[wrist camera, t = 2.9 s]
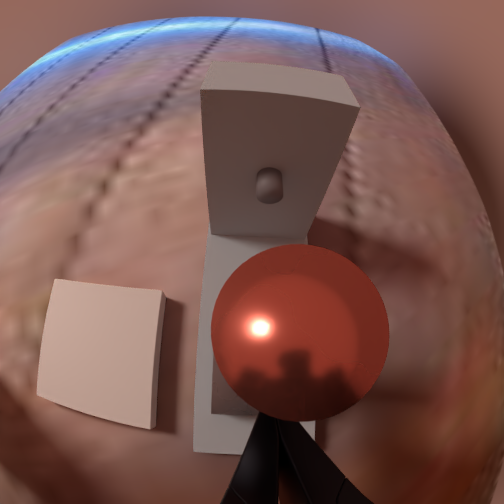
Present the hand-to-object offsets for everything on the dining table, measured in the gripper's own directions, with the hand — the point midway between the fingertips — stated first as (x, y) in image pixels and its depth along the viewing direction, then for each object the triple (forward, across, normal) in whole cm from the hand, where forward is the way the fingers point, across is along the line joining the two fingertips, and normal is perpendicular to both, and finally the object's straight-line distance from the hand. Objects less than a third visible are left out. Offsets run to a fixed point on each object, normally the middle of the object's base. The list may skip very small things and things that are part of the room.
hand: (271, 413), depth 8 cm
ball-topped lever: (+5, 0, +2) cm, 6 cm away
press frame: (+8, +5, +1) cm, 10 cm away
